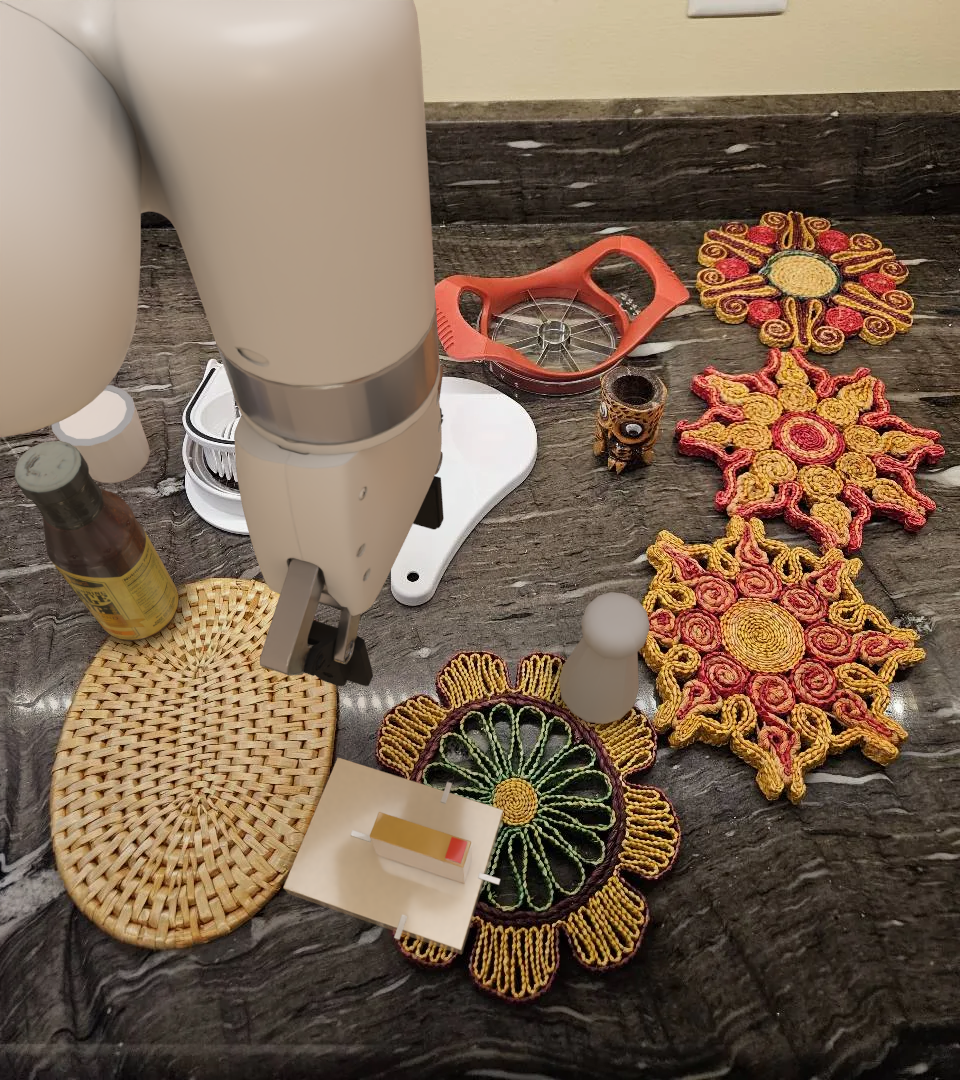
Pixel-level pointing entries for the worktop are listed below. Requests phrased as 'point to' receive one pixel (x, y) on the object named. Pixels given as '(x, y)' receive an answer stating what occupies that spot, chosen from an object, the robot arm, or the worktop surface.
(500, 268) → the worktop surface
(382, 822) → the tap handle
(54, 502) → the sauce bottle
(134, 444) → the beige grey-rimmed cylinder
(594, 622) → the salt shaker
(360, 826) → the block
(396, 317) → the robot arm
